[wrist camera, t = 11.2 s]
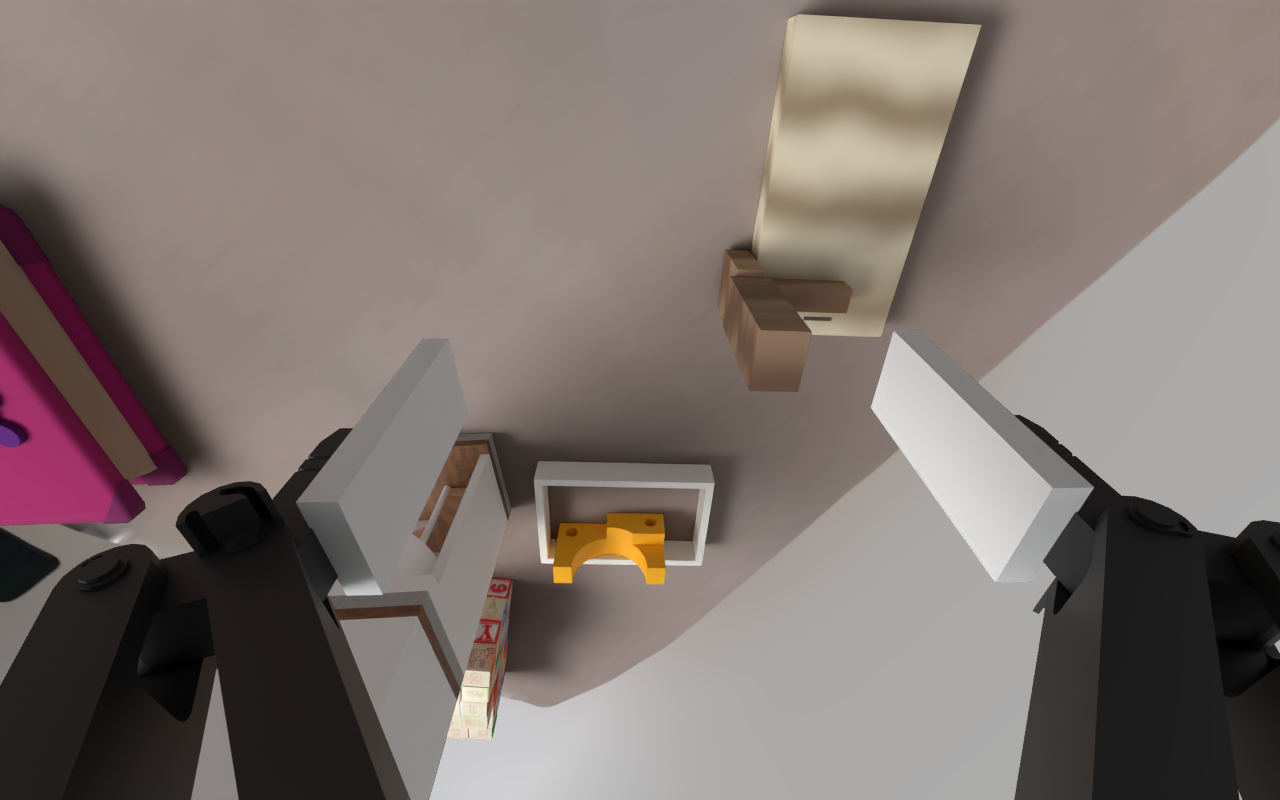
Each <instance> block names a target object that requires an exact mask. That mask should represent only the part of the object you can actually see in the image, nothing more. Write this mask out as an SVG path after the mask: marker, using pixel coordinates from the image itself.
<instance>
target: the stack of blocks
mask: <svg viewBox="0 0 1280 800" xmlns="http://www.w3.org/2000/svg"><path fill="white" fill-rule="evenodd" d="M512 585H513V580H512V579H503V578H493V577H492V579H491V583H490V586H489V590H488V593H487V597H486V600H485V604H484V607H483V611H482V614H481V618H480V621H479V625H478V629H477V632H476V636H475V639H474V643H473V646H472V650H471V653H470V657H469V660H468V664H467V667H466V671H465V675H464V678H463V682H462V685H461V689H460V692H459V696H458V699H457V703H456V706H455V710H454V713H453V717H452V721H451V724H450V728H449V731H448V735H447V737H453V738H476V739H490V740H491V739H492V737H493V733H494V728H495V723H496V718H497V710H498V705H499V700H500V695H501V689H502V684H503V680H504V675H505V664H506V657H507V645H508V626H509V611H510V606H511V595H512Z"/></svg>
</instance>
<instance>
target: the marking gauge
mask: <svg viewBox="0 0 1280 800" xmlns="http://www.w3.org/2000/svg"><path fill="white" fill-rule="evenodd" d="M763 276H764V269H763V268H762V267H761V265H760V264H759V263H758V262H757V260H756V259H755V258H754V256H753V255H752V254H751V253H750V251H744V250H725V256H724V263H723V271H722V279H721V286H720V294H719V301H718V309H719V311H720V313H721V316H722V318H723V320H724V322H723V327H724V330H725V332H726V335H727V337H728V339H729V342H730V344H731V347H732V349H733V352H734V354H735V357H736V359H737V361H738V364H739V366H740V369H741V371H742V374H743V376H744V379H745V381H746V383H747V386H748V388H749V391H784V392H798V388H799V384H800V380H801V376H802V372H803V368H804V364H805V360H806V355H807V351H808V347H809V343H810V339H811V335H812V331H811V330H810V328H809V327H808V326H807V325H806V323H805V322H804V321H803V319H802V318H801V317H800V316H799V314H798V313H797V312H817V313H846V314H847V310H848V307H849V303H850V299H851V296H852V292H853V289H852V288H851V287H850V286H849V285H848V284H847V283H845V282H844V281H827V280H801V279H774V278H770V277H763Z"/></svg>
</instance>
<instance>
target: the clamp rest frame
mask: <svg viewBox="0 0 1280 800" xmlns="http://www.w3.org/2000/svg"><path fill="white" fill-rule="evenodd" d="M714 484H715V482H714V478H713V473H712V469H711V465H698V464H652V463H607V462H561V461H538V464H537V468H536V472H535V476H534V488H535V500H536V511H537V522H538V534H539V545H540V556H541V563H546V564H553V563H554V557H555V551H556V545H557V539H551V529H550V514H549V500H548V486H587V487H638V488H688V489H700V492H699V499H698V506H697V513H696V520H695V527H694V534H693V541H664V555H665V565H692V566H702V559H703V553H704V547H705V541H706V534H707V528H708V522H709V516H710V509H711V503H712V497H713V491H714ZM583 564H619V565H637V564H636V563H635V562H633V561H632V560H630V559H628V558H626V557H623V556H620V555H613V554H606V555H600V556H596V557H593V558H591V559H589V560H587V561H586V562H584V563H583Z"/></svg>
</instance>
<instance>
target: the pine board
mask: <svg viewBox="0 0 1280 800" xmlns="http://www.w3.org/2000/svg"><path fill="white" fill-rule="evenodd" d="M980 28H981V25H974V24H957V23H940V22H923V21H906V20H889V19H872V18H855V17H838V16H821V15H804V14H798V15H796V16H794V17H792V18H790V19H788V23H787V29H786V35H785V41H784V48H783V54H782V60H781V66H780V73H779V79H778V85H777V92H776V98H775V104H774V110H773V117H772V123H771V129H770V136H769V142H768V148H767V154H766V161H765V167H764V173H763V179H762V186H761V192H760V198H759V205H758V211H757V217H756V223H755V230H754V236H753V242H752V248H751V254H752V255H753V256H754V258H755V259H756V260H757V262H758V263H759V264H760V265H761V267H762V268H763V269H764V276H763V277H770V278H774V279H801V280H827V281H844V282H845V283H847V284H848V285H849V286H850V287H851V288H852V289H853V292H852V296H851V299H850V303H849V307H848V310H847V314H846V313H817V312H797V313H798V314H799V316H800V317H801V318H802V319H803V321H804V322H805V323H806V325H807V326H808V327H809V328H810V330H811V331H812V335H835V336H865V337H881V334H882V331H883V328H884V325H885V322H886V319H887V316H888V313H889V310H890V307H891V304H892V300H893V297H894V294H895V291H896V288H897V285H898V282H899V279H900V276H901V273H902V270H903V266H904V263H905V260H906V257H907V254H908V251H909V248H910V245H911V242H912V239H913V236H914V232H915V229H916V226H917V223H918V220H919V217H920V214H921V211H922V208H923V205H924V202H925V198H926V195H927V192H928V189H929V186H930V183H931V180H932V177H933V174H934V171H935V167H936V164H937V161H938V158H939V155H940V152H941V149H942V146H943V143H944V140H945V137H946V133H947V130H948V127H949V124H950V121H951V118H952V115H953V112H954V109H955V106H956V103H957V99H958V96H959V93H960V90H961V87H962V84H963V81H964V78H965V75H966V72H967V69H968V65H969V62H970V59H971V56H972V53H973V50H974V47H975V44H976V41H977V38H978V35H979V31H980Z"/></svg>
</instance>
